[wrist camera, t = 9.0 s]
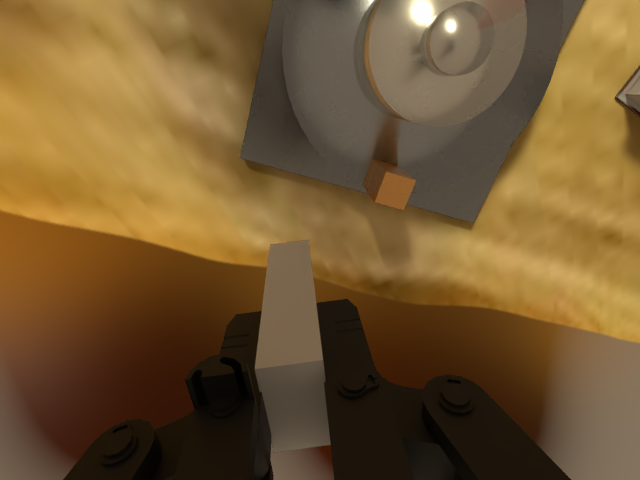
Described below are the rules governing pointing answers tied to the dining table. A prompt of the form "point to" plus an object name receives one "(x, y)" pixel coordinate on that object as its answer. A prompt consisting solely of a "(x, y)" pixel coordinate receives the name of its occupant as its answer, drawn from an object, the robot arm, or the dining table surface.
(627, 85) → the book
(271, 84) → the base plate
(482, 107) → the cover
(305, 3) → the turntable
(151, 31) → the dining table surface
